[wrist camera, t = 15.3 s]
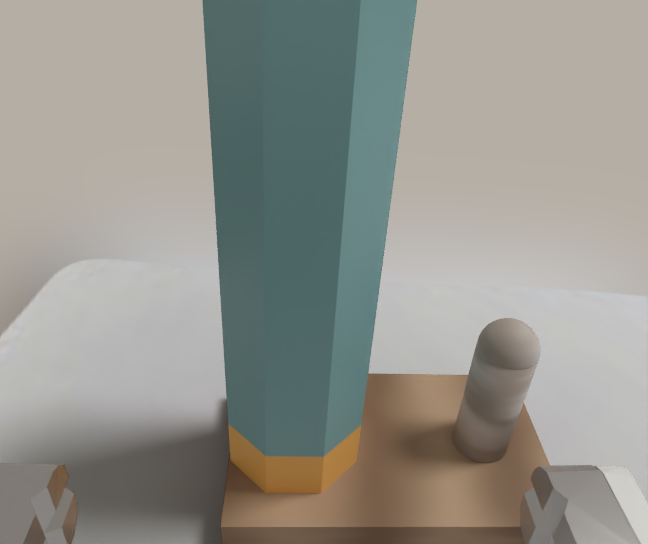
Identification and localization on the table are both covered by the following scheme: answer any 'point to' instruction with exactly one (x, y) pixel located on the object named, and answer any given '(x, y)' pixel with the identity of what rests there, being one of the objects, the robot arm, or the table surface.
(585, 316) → the table surface
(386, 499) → the pin board
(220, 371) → the table surface
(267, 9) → the sleeve
